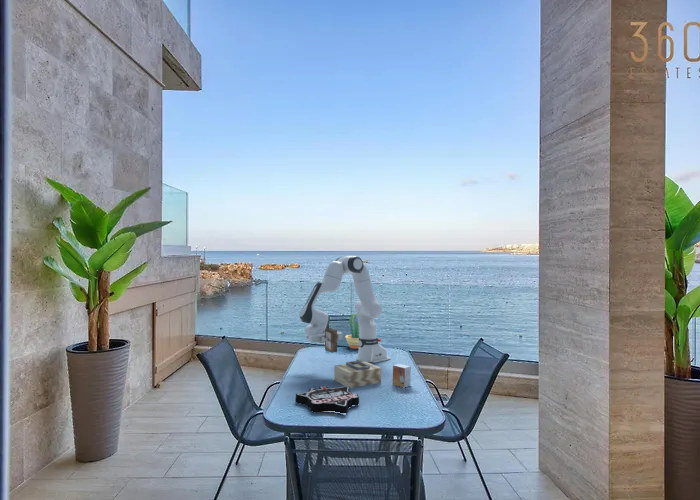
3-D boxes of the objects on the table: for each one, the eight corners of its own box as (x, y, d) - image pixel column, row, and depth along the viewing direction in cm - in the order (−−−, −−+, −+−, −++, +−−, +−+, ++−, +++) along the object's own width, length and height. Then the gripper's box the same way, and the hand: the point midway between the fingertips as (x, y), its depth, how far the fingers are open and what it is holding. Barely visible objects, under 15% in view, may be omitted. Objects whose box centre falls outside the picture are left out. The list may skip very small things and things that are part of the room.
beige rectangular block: (365, 375, 249) (365, 358, 249) (380, 382, 235) (381, 365, 235) (334, 380, 239) (334, 362, 239) (349, 388, 225) (349, 369, 225)
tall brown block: (330, 349, 247) (330, 327, 247) (337, 352, 240) (337, 330, 240) (324, 349, 246) (325, 328, 246) (331, 352, 239) (331, 330, 239)
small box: (392, 385, 232) (392, 365, 232) (398, 382, 236) (398, 363, 236) (404, 388, 226) (404, 368, 226) (410, 386, 230) (411, 366, 230)
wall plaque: (343, 383, 221) (373, 401, 195) (343, 391, 221) (373, 410, 195) (291, 390, 208) (315, 411, 182) (291, 399, 208) (315, 421, 182)
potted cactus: (345, 349, 314) (345, 314, 314) (344, 344, 329) (345, 311, 329) (366, 349, 314) (367, 315, 314) (365, 345, 330) (365, 312, 330)
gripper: (304, 331, 249) (314, 335, 237) (336, 328, 259) (347, 332, 247) (304, 342, 249) (314, 347, 237) (336, 338, 259) (347, 343, 247)
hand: (331, 339), depth 242 cm, fingers closed on tall brown block, 4 cm apart
